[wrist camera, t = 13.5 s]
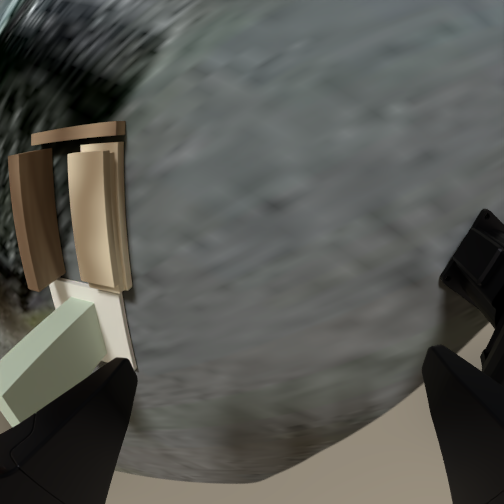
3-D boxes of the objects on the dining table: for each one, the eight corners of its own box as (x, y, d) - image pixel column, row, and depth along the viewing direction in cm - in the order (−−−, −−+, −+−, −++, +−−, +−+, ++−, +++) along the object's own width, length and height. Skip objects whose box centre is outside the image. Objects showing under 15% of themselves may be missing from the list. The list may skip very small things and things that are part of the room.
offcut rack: (125, 121, 18) (91, 121, 15) (133, 286, 23) (108, 311, 20) (40, 133, 20) (7, 137, 16) (54, 270, 25) (28, 288, 21)
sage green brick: (94, 302, 24) (1, 395, 12) (107, 352, 26) (37, 445, 15) (70, 296, 25) (-20, 379, 13) (84, 345, 27) (14, 429, 15)
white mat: (121, 291, 24) (118, 294, 23) (136, 367, 27) (134, 371, 27) (51, 275, 25) (47, 277, 24) (71, 345, 28) (68, 348, 28)
